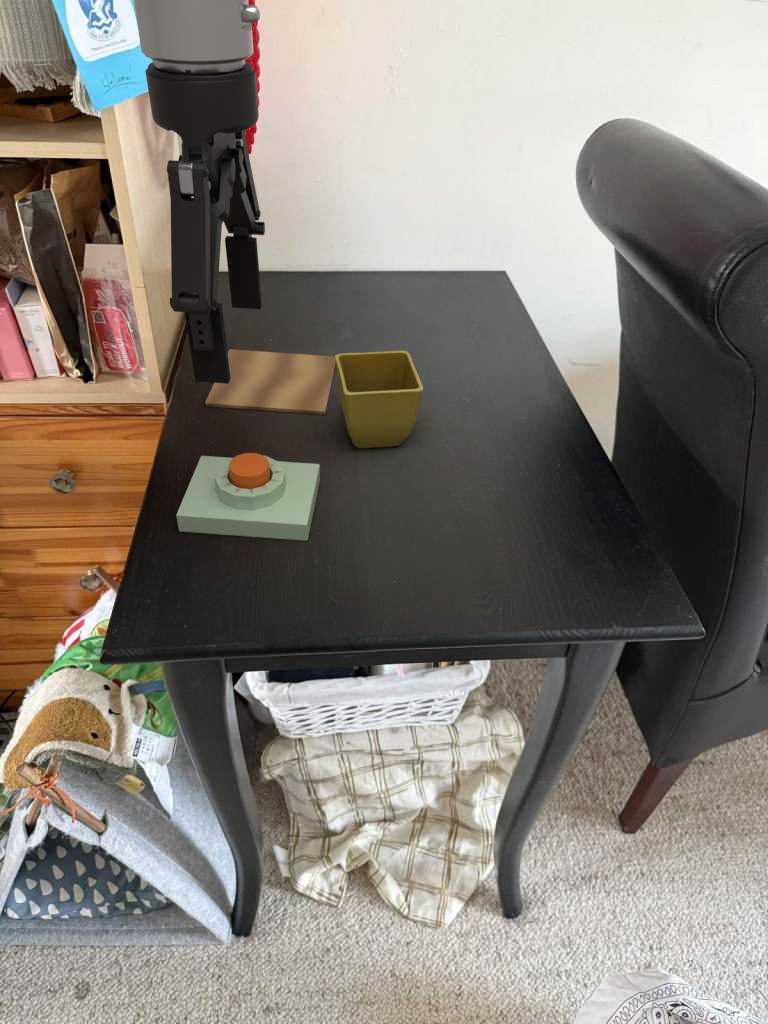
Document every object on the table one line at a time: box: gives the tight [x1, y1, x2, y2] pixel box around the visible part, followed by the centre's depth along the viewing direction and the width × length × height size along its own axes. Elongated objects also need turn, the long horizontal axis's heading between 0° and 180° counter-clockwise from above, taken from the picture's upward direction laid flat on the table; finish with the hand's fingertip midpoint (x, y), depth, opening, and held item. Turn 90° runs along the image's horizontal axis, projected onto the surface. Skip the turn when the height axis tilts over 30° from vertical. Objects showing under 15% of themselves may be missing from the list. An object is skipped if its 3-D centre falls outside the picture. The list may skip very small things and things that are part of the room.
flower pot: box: [334, 350, 424, 449], centre depth 84 cm, size 9×9×9 cm
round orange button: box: [229, 452, 270, 489], centre depth 74 cm, size 4×4×2 cm
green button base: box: [175, 454, 321, 542], centre depth 76 cm, size 13×10×4 cm
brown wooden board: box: [204, 348, 336, 415], centre depth 96 cm, size 15×14×1 cm
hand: (231, 341), depth 64 cm, fingers open, 13 cm apart
